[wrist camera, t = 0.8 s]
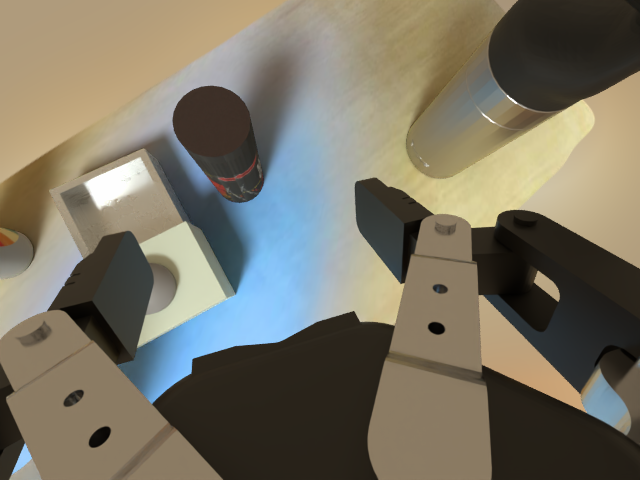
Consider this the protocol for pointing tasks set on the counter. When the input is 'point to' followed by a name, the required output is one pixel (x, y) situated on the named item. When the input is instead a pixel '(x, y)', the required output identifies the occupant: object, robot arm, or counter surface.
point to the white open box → (119, 201)
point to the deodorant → (220, 140)
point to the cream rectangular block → (181, 280)
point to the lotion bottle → (14, 253)
